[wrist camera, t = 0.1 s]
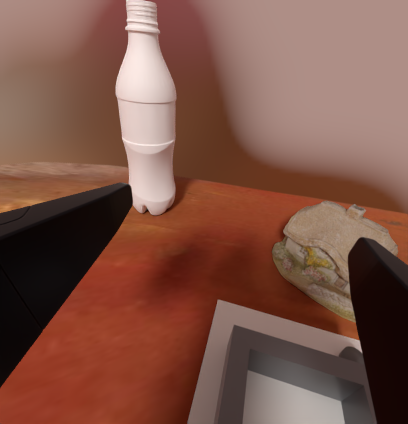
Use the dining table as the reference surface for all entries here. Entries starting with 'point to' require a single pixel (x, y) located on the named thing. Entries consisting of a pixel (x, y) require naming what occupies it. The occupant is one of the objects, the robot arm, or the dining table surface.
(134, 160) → the water bottle
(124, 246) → the dining table surface
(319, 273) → the ceramic model
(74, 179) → the dining table surface
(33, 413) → the dining table surface
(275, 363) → the tray on white base
